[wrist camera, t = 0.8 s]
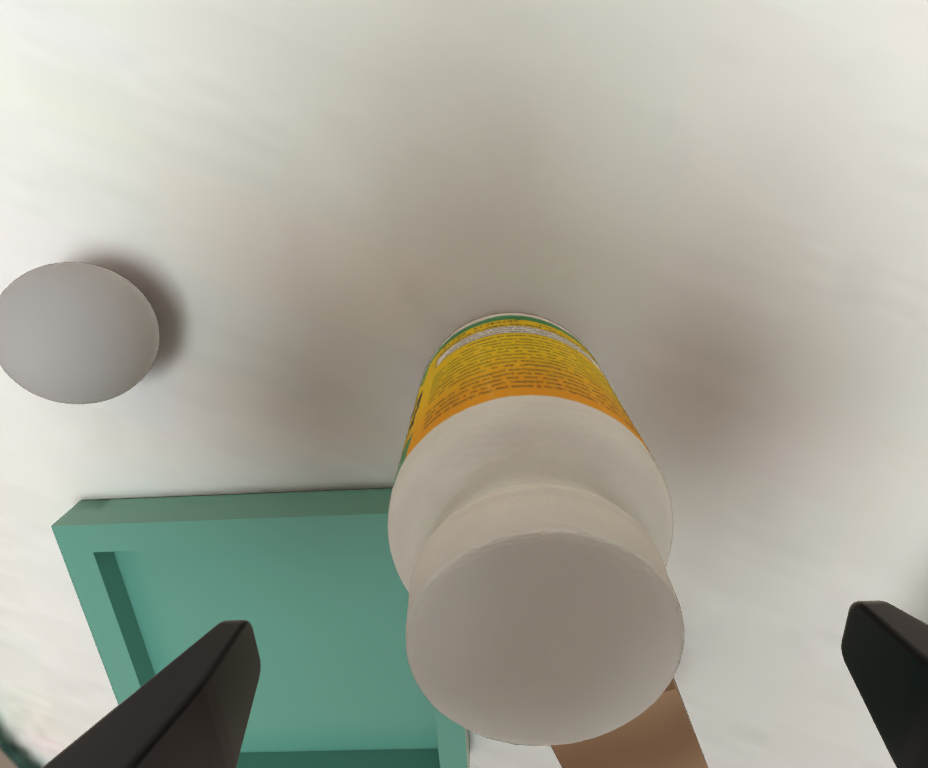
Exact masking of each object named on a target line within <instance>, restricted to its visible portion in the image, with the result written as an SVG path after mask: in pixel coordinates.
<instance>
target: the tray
mask: <svg viewBox="0 0 928 768" xmlns="http://www.w3.org/2000/svg"><path fill="white" fill-rule="evenodd" d="M392 489H393V488H387V489H362V490H336V491H311V492H285V493H260V494H234V495H209V496H183V497H158V498H132V499H107V500H81V501H80V502H79V503H77V504H76V505H75V506H74V507H73V508H72V509H70V510H69V511H68V512H67V513H66V514H65V515H63V516H62V517H61V518H60V519H59V520H58V521H57V522H55V523H54V524H53V525H52V526H51V527H52V529H53V532H54V535H55V537H56V540H57V543H58V545H59V548H60V551H61V553H62V556H63V559H64V561H65V564H66V567H67V569H68V572H69V575H70V577H71V580H72V583H73V585H74V588H75V591H76V593H77V596H78V598H79V601H80V604H81V606H82V609H83V612H84V614H85V617H86V620H87V622H88V625H89V628H90V630H91V633H92V636H93V638H94V641H95V644H96V646H97V649H98V652H99V654H100V657H101V659H102V662H103V665H104V667H105V670H106V673H107V675H108V678H109V681H110V683H111V686H112V689H113V691H114V694H115V697H116V699H117V702H118V705H119V704H121V703H122V702H123V701H124V700H125V699H127V698H128V697H129V696H130V695H132V694H133V693H134V692H135V691H136V690H138V689H139V688H140V687H141V686H143V685H144V684H145V683H146V682H147V681H149V680H150V679H151V678H152V677H154V676H155V675H156V674H157V673H158V672H160V671H161V670H162V669H163V668H165V667H166V666H167V665H168V664H169V663H171V662H172V661H173V660H174V659H176V658H177V657H178V656H179V655H180V654H182V653H183V652H184V651H185V650H187V649H188V648H189V647H190V646H191V645H193V644H194V643H195V642H196V641H198V640H199V639H200V638H201V637H202V636H204V635H205V634H206V633H207V632H209V631H210V630H211V629H212V628H213V627H215V626H216V625H217V624H219V623H220V622H222V621H226V620H247V621H249V622H250V623H251V625H252V627H253V631H254V635H255V639H256V643H257V648H258V652H259V656H260V661H261V671H260V677H259V681H258V685H257V689H256V693H255V697H254V701H253V704H252V708H251V712H250V716H249V720H248V724H247V728H246V732H245V735H244V739H243V743H242V747H241V751H240V755H239V759H238V763H237V766H236V768H469V765H470V749H469V736H468V730H467V729H466V728H464V727H462V726H460V725H459V724H457V723H455V722H454V721H452V720H450V719H449V718H447V717H446V716H445V715H444V714H442V713H441V712H440V711H439V710H437V709H436V708H435V707H434V706H433V705H432V704H431V702H430V701H429V700H428V699H427V698H426V696H425V695H424V694H423V693H422V691H421V689H420V687H419V686H418V685H417V683H416V681H415V679H414V677H413V674H412V672H411V669H410V666H409V662H408V659H407V652H406V621H407V611H408V601H409V592H408V591H407V589H406V588H405V586H404V584H403V582H402V580H401V578H400V576H399V574H398V572H397V570H396V567H395V564H394V561H393V558H392V554H391V551H390V545H389V538H388V512H389V505H390V498H391V493H392Z"/></svg>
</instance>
